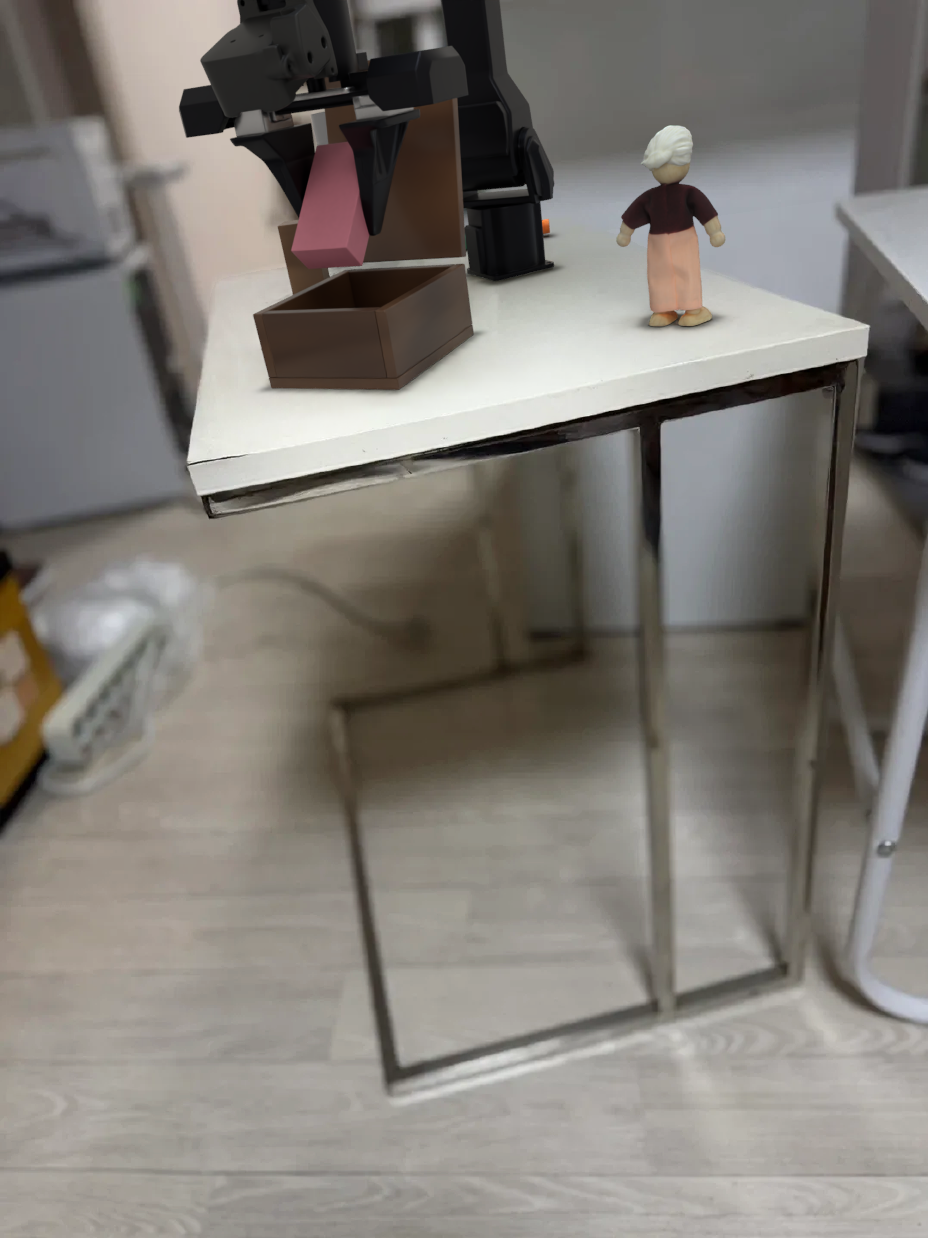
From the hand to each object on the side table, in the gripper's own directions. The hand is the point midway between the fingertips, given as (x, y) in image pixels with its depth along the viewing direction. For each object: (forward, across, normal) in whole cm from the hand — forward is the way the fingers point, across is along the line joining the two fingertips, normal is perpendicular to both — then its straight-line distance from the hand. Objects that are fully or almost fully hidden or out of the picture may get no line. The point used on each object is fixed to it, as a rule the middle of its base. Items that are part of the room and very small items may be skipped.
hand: (345, 237), depth 63 cm
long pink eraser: (-1, 0, +1) cm, 1 cm away
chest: (+9, 0, +1) cm, 9 cm away
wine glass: (+9, -22, +40) cm, 47 cm away
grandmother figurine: (+9, +20, +10) cm, 24 cm away
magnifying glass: (+9, -9, +42) cm, 44 cm away
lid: (-3, 0, +8) cm, 9 cm away
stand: (+9, -19, +21) cm, 30 cm away
